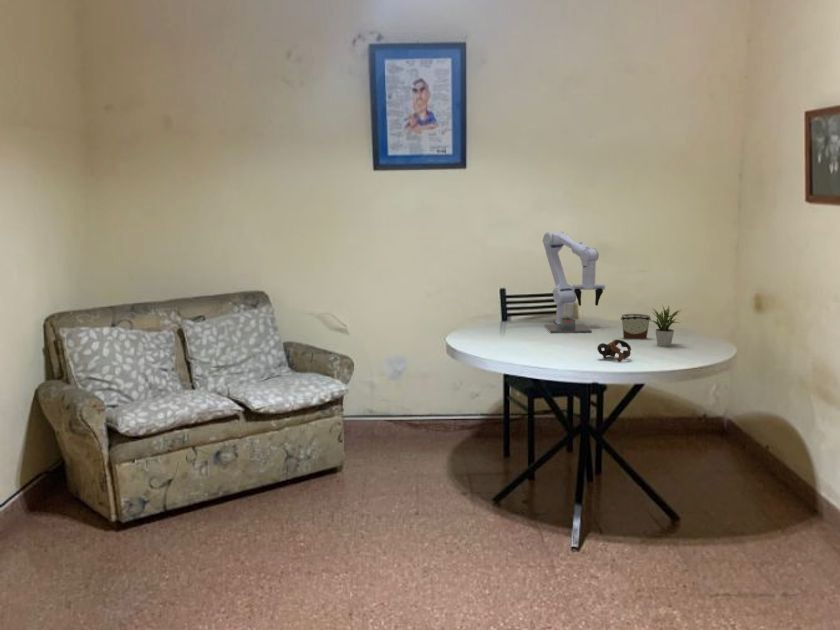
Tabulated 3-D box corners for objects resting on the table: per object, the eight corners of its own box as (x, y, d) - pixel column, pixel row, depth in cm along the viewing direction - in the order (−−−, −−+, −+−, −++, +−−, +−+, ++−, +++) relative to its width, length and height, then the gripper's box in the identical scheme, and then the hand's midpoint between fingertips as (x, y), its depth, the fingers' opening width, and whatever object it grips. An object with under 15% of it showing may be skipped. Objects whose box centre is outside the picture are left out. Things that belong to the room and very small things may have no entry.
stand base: (544, 326, 346) (544, 314, 345) (583, 326, 346) (583, 314, 345) (550, 333, 328) (550, 320, 328) (591, 332, 328) (591, 320, 327)
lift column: (563, 321, 338) (563, 303, 337) (570, 321, 338) (570, 303, 337) (564, 322, 335) (564, 304, 334) (571, 322, 335) (572, 304, 334)
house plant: (689, 349, 290) (691, 307, 287) (653, 349, 291) (654, 307, 288) (679, 342, 304) (680, 302, 301) (644, 342, 305) (646, 303, 302)
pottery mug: (620, 356, 280) (630, 340, 276) (626, 372, 272) (636, 355, 268) (591, 350, 278) (600, 332, 274) (596, 365, 270) (605, 348, 266)
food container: (647, 336, 318) (648, 313, 316) (650, 339, 312) (651, 315, 310) (617, 336, 319) (618, 313, 317) (620, 339, 313) (620, 315, 311)
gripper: (574, 276, 334) (573, 306, 336) (606, 276, 333) (606, 306, 335) (571, 275, 341) (570, 304, 343) (603, 274, 340) (602, 304, 342)
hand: (588, 305), depth 339 cm, fingers open, 7 cm apart
